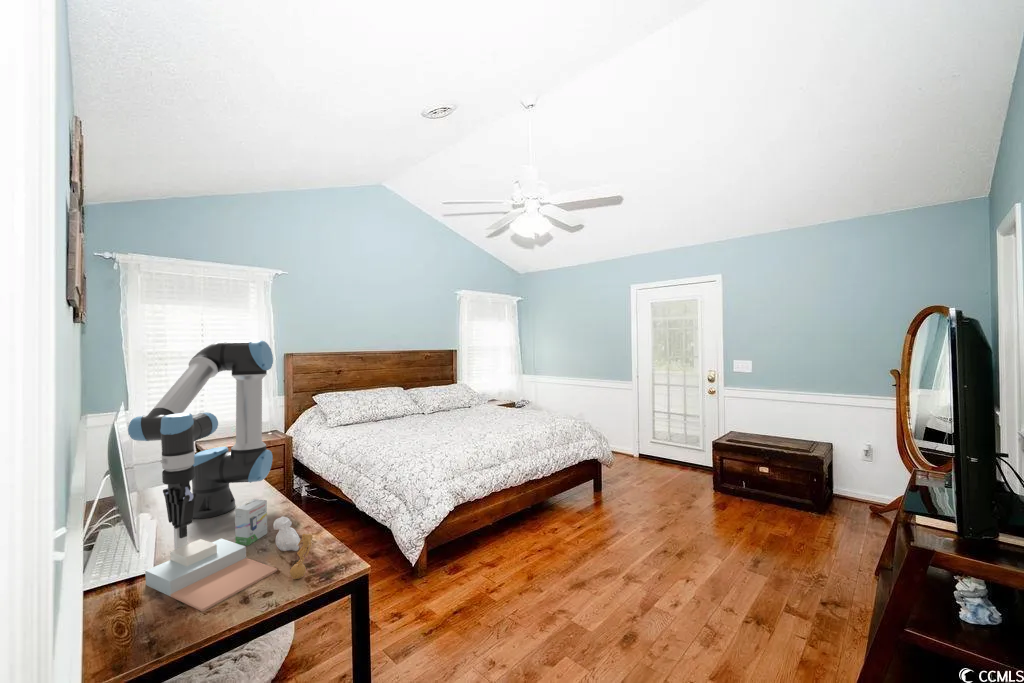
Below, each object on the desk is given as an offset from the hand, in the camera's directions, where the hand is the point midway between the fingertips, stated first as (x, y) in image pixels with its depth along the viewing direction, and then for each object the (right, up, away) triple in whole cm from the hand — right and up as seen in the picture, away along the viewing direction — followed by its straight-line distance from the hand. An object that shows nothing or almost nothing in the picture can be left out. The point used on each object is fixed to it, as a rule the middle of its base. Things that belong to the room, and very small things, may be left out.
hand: (181, 547), depth 129 cm
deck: (+7, -6, -3) cm, 10 cm away
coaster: (+5, -1, -2) cm, 6 cm away
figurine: (+38, -6, -6) cm, 39 cm away
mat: (+19, -6, -9) cm, 22 cm away
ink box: (+11, -5, +16) cm, 20 cm away
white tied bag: (+26, -5, +10) cm, 28 cm away
